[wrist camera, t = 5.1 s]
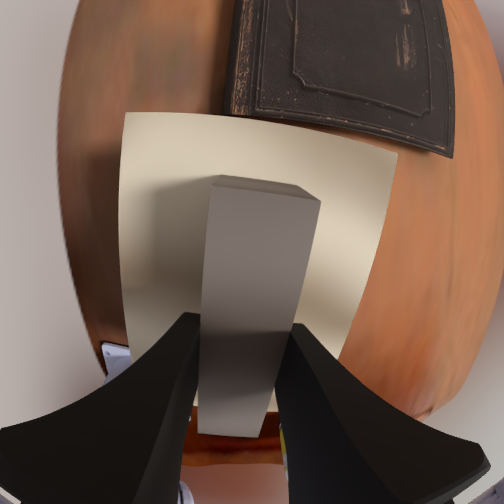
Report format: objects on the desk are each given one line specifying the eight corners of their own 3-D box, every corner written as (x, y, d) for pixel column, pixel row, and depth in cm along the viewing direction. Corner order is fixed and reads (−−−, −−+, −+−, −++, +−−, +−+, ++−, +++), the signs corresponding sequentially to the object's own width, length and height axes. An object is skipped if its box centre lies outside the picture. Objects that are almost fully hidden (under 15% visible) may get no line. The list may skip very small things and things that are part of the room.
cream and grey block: (308, 392, 15) (322, 452, 11) (145, 377, 14) (125, 436, 10) (380, 151, 10) (448, 159, 6) (140, 116, 9) (81, 102, 5)
